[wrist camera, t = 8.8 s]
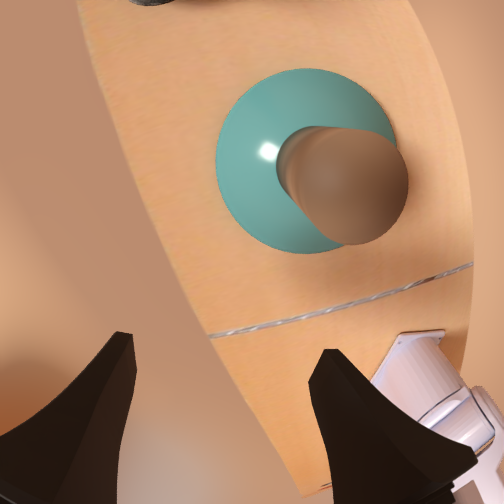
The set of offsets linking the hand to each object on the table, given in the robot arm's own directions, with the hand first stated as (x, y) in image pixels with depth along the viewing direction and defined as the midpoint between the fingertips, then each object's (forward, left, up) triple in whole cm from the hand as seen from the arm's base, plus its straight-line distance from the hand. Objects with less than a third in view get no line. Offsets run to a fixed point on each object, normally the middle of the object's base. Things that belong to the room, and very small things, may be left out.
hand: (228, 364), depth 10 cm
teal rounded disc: (+7, -5, -10) cm, 13 cm away
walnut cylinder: (+6, -5, -9) cm, 12 cm away
